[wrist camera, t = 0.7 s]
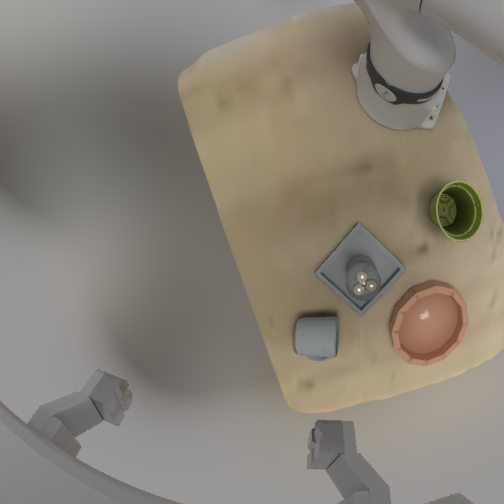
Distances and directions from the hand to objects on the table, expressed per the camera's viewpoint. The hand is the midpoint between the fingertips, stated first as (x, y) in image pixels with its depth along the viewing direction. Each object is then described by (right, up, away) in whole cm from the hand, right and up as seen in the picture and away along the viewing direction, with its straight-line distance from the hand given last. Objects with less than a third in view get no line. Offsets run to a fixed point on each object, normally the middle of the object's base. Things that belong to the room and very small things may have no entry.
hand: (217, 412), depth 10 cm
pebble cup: (+21, +3, +36) cm, 42 cm away
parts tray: (+21, +3, +37) cm, 43 cm away
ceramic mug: (+15, -10, +42) cm, 45 cm away
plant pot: (+36, +14, +30) cm, 49 cm away
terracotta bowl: (+35, -7, +34) cm, 49 cm away
